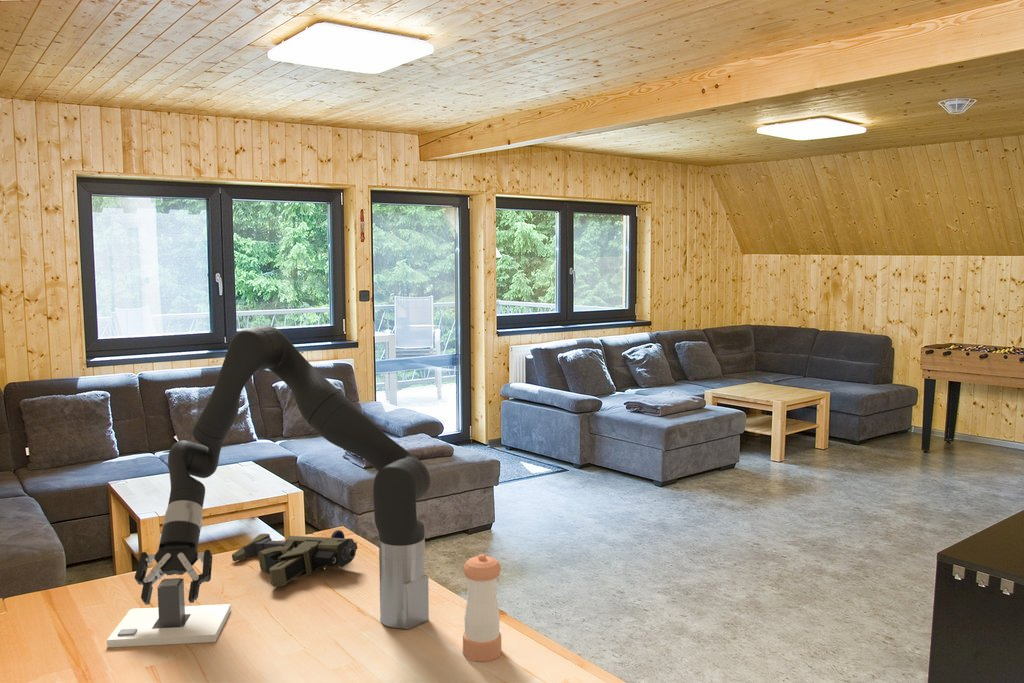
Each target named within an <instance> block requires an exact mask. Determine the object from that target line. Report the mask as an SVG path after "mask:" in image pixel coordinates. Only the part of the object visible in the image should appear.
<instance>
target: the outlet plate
mask: <svg viewBox="0 0 1024 683" xmlns="http://www.w3.org/2000/svg"><path fill="white" fill-rule="evenodd" d="M231 609H232V607H231V603H227V604H226V603H225V604H205V605H204V604H201V605H187V606H186V605H185V625H184V627H177V628H159V611H158V606H157V607H142V608H141V607H139V608H138V607H137V608H130V609H129V610H128V612H127V613H126V615H125V616H124V617H123V618H122V619H121V621H120V622H119V624H118V625H117V626H116V627H115V629H114V630H113V631H112V633H111V634H110V635H109V636H108V638H107V639H106V648H107V647H108V648H124V647H143V646H147V647H148V646H164V645H185V644H201V643H216V642H217V640H218V638H219V636H220V633H221V632H222V630H223V628H224V626H225V624H226V622H227V620H228V618H229V615H230V613H231V611H232V610H231Z"/></svg>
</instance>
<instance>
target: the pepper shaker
mask: <svg viewBox="0 0 1024 683" xmlns="http://www.w3.org/2000/svg"><path fill="white" fill-rule="evenodd" d="M463 565H464V566H463V569H462V571H463V574H464V575H465V577H466V579H467V587H466V588H467V593H466V594H467V599H466V605H465V610H464V612H465V613H464V620H463V622H464V632H463V634H462V654H463V657H465V658H466V659H467V660H469V661H473V662H480V663H481V662H484V663H485V662H491V661H493V660H496V659H497V658H499V657H500V656H501V655H502V634H501V632H500V622H501V621H500V620H501V618H500V617H501V616H500V610H499V603H498V597H497V595H498V594H497V593H498V592H497V590H498V589H497V584H498V582H497V578H498V577H499V576H500V573H501V570H502V568H501V564H500V563H499V561H498V560H497V559H496V558H494V557H491V556H487V555H486V554H483V553H481V554H478V555H477V556H473V557H470V558H469V559H467V560H466V562H465V563H464V564H463Z"/></svg>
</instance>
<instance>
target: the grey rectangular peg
mask: <svg viewBox="0 0 1024 683" xmlns="http://www.w3.org/2000/svg"><path fill="white" fill-rule="evenodd" d="M184 580H185V579H184V577H183V578H182V577H172V578H164V579H161V581H160V583H159V584H158V586H157V589H156V590H157V607H158V611H159V626H158V628H177V627H184V625H185V623H186V621H185V606H186V605H185V581H184Z"/></svg>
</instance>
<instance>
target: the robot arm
mask: <svg viewBox="0 0 1024 683" xmlns="http://www.w3.org/2000/svg"><path fill="white" fill-rule="evenodd" d="M265 370H269V371H271V372H272V373H273V374H275V375H276V376H277V377H278V378H279V379H281V380H282V381H283V383H285V384H286V386H287V387H288V388H289V389H290V390H291V393H292V395H293V397H294V400H295V403H296V405H297V406H296V407H297V409H298V410H299V413H300V415H301V417H302V418H303V419H304V420H305V422H306V423H307V424H308V425H310V427H311V428H313V429H314V431H316V433H318V434H319V435H320V436H321V437H322V438H323V439H325V440H326V441H327V442H329V443H330V444H332V445H334V446H336V447H337V448H340V449H343V450H345V451H346V452H350V453H352V454H354V455H356V456H358V457H360V459H363V460H365V461H366V462H367V463H369V464H370V465H371V466H372V467H373V468H374V469H375V470H376V471H377V473H376V475H375V477H374V481H373V486H372V488H373V490H372V491H373V492H372V494H373V496H372V498H373V511H374V512H373V513H374V523H375V527H376V529H377V531H378V543H379V544H378V545H379V546H378V548H379V550H378V553H379V554H378V556H379V560H378V562H379V614H380V616H379V618H380V619H379V620H380V622H381V623H382V624H383V625H384V626H386V627H389V628H392V629H394V628H395V629H404V630H410V629H412V628H414V627H415V626H419V625H420V624H422V623H425V622H427V621H429V620H430V619H429V617H430V616H429V614H430V613H429V612H430V610H429V609H430V608H429V606H430V604H429V603H430V602H429V590H430V588H429V575H427V574H426V572H425V571H426V562H425V560H426V559H425V556H426V555H425V554H426V553H425V551H426V550H425V547H426V546H425V542H426V540H425V537H426V536H425V531H426V530H425V524H424V523H423V521H421V520H419V519H418V518H417V517H418V516H417V514H418V513H417V501H418V500H419V499H421V498H422V497H423V496H426V493H427V492H428V491H429V489H430V488H431V487H430V486H431V476H430V472H429V471H428V469H427V467H426V466H425V464H424V463H423V462H422V461H421V460H420V459H419V458H418V457H417V456H415V455H413V454H412V453H411V452H409V451H408V450H407V449H406V448H404V447H403V446H402V445H400V444H399V443H398V442H396V441H395V440H393V438H391V437H390V436H389V435H387V434H386V433H385V432H384V431H383V430H382V429H381V428H380V427H378V425H377V424H376V423H374V422H373V421H372V420H371V419H370V418H369V417H368V416H367V415H366V414H365V413H363V412H362V411H361V410H360V409H359V408H358V407H357V406H356V405H355V404H354V403H353V402H352V400H350V399H349V398H348V397H347V396H345V394H344V393H343V392H341V391H340V390H339V389H338V388H337V387H335V386H334V385H333V384H332V383H331V382H330V381H329V380H328V379H327V378H326V377H325V376H324V375H322V373H321V372H320V371H318V369H316V368H315V367H314V366H313V365H312V364H311V363H310V362H309V361H308V360H307V359H306V358H305V357H304V356H303V355H302V353H301V352H300V351H299V350H298V348H296V347H295V345H294V344H293V343H292V342H291V340H289V339H288V337H287V336H286V335H285V334H284V333H283V331H281V330H280V329H278V328H276V327H274V326H271V325H259V326H253V327H249V328H244V329H242V330H240V331H238V332H237V333H236V334H235V335H234V336H233V337H232V339H231V341H230V343H229V346H228V348H227V351H226V354H225V357H224V359H223V361H222V365H221V368H220V371H219V373H218V377H217V380H216V381H215V385H214V386H213V389H212V392H211V394H210V397H209V399H208V401H207V402H206V405H205V406H204V408H203V409H202V411H201V413H200V415H199V416H198V418H197V420H196V421H195V423H194V425H193V427H192V430H191V431H192V436H193V437H194V439H195V440H196V441H197V442H198V443H197V442H193V441H189V440H184V439H182V440H181V439H180V440H178V441H177V442H175V443H174V444H173V445H172V446H171V448H170V449H169V452H168V456H167V467H168V471H169V472H168V474H169V480H170V492H169V499H168V503H167V504H168V505H167V508H166V510H165V514H164V518H163V523H162V528H161V534H160V539H159V545H158V550H157V551H156V553H155V554H152V553H148V552H147V551H143V552H141V553H140V556H139V559H138V562H137V568H136V571H135V575H134V579H135V581H136V583H137V584H138V585H139V586H141V585H142V589H141V595H140V599H141V601H142V602H143V603H144V605H145V606H146V605H148V606H149V605H150V604H151V599H152V594H153V588H154V587H153V586H154V584H156V582H157V581H159V580H162V578H163V577H164V576H165V575H166V576H173V575H178V576H181V575H184V574H186V573H187V574H188V576H189V577H190V578H191V581H190V585H189V591H188V600H187V601H188V602H189V604H192V603H194V604H195V600H196V601H197V600H198V598H199V593H200V586H201V584H203V583H208V582H210V581H211V580H212V567H213V565H212V564H213V555H212V552H211V550H209V549H205V550H204V551H201V552H200V551H199V552H198V549H199V548H198V547H199V542H200V536H201V531H202V530H201V529H202V526H203V509H204V502H205V496H206V486H205V485H204V484H203V483H202V482H201V481H200V480H198V479H196V478H201V479H208V478H210V477H211V476H212V475H214V473H215V472H216V471H217V469H218V466H219V460H220V454H221V450H222V446H223V444H224V441H225V439H226V437H227V435H228V434H229V432H230V431H231V429H232V427H233V425H234V424H235V421H236V419H237V418H238V414H239V411H240V399H241V394H242V391H243V389H244V387H245V386H246V384H247V383H248V381H249V380H250V379H251V378H252V376H254V374H255V373H257V372H260V371H265ZM194 477H196V478H194ZM198 560H199V561H200V562H201V563H202V573H200V574H198V573H197V571H196V570H195V569H194V567H193V565H195V564H196V563H197V562H198ZM153 562H156V564H155V565H154V566H153V567H152V568H151V570H150V572H149V573H148V574H147V571H148V569H149V566H151V564H152V563H153Z"/></svg>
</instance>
